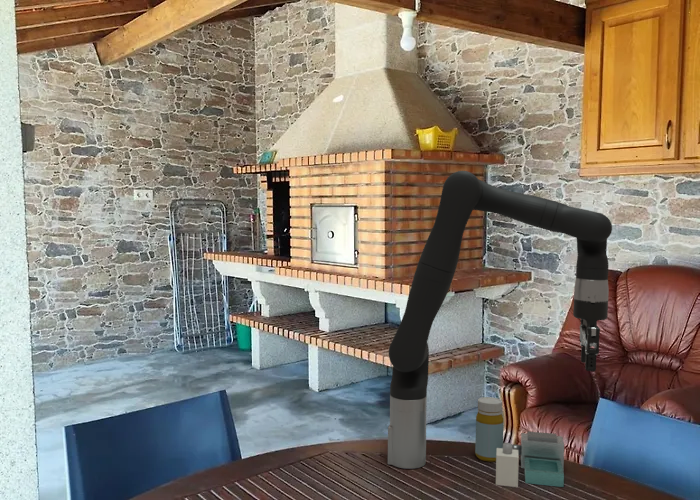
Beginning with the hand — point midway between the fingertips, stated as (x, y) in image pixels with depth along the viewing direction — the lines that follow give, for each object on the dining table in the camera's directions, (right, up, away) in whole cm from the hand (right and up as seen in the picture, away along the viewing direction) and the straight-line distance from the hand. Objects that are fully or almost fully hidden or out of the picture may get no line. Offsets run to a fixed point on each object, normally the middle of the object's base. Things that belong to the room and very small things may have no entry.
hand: (588, 366), depth 147 cm
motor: (-10, -27, +6) cm, 30 cm away
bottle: (-20, -27, +16) cm, 37 cm away
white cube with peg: (-19, -27, +1) cm, 33 cm away
